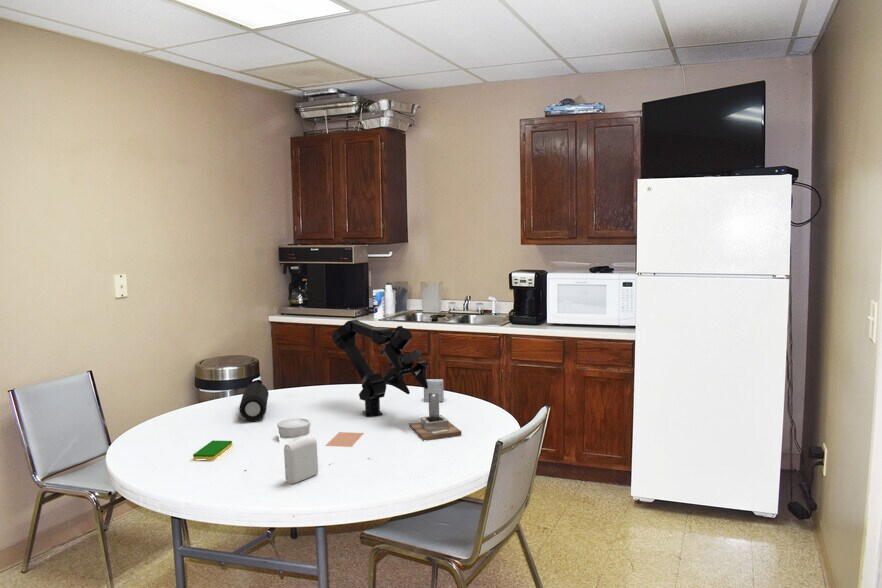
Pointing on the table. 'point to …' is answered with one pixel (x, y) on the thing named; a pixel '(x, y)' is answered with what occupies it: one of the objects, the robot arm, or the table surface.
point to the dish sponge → (212, 450)
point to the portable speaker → (254, 402)
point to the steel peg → (433, 407)
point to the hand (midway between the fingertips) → (418, 390)
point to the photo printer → (300, 459)
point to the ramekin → (293, 427)
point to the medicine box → (434, 389)
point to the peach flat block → (344, 439)
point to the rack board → (434, 428)
